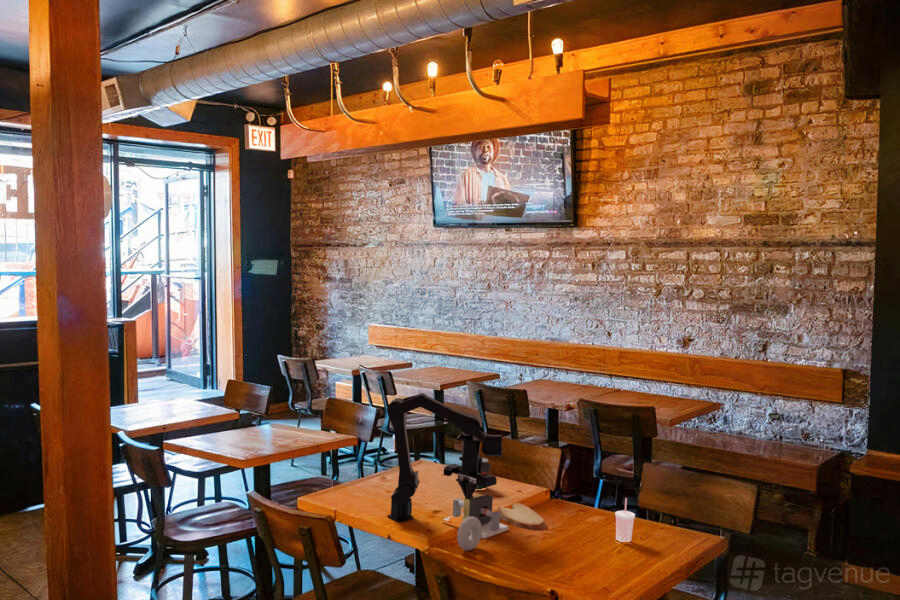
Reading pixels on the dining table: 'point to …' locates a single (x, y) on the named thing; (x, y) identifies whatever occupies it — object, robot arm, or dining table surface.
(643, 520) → the dining table surface
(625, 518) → the beverage cup
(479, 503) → the dark gray square plate
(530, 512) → the bread slice
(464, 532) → the grey wheel
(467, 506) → the olive brown square block
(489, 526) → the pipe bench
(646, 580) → the dining table surface
